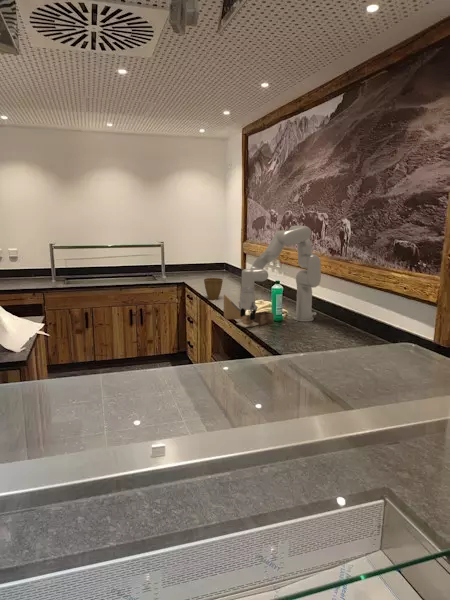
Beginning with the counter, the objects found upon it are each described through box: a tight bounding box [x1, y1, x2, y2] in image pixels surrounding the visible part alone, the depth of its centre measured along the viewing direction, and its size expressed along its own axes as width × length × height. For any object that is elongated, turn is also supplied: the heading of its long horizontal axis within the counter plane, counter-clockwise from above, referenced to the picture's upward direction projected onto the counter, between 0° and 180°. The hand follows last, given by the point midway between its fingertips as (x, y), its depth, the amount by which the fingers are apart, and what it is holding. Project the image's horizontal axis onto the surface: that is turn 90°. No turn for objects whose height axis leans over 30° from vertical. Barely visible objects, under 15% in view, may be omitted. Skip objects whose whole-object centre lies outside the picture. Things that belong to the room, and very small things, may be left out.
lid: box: [235, 314, 260, 328], centre depth 253 cm, size 11×9×6 cm
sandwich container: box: [223, 294, 243, 320], centre depth 273 cm, size 9×15×15 cm, turn 99°
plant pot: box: [203, 277, 224, 301], centre depth 332 cm, size 15×15×16 cm
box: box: [253, 310, 274, 326], centre depth 259 cm, size 10×8×6 cm
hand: (247, 317), depth 252 cm, fingers open, 9 cm apart
